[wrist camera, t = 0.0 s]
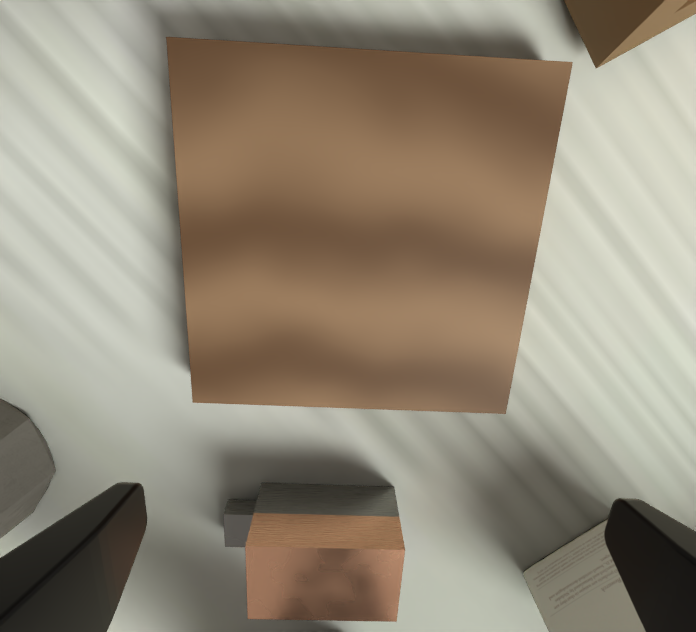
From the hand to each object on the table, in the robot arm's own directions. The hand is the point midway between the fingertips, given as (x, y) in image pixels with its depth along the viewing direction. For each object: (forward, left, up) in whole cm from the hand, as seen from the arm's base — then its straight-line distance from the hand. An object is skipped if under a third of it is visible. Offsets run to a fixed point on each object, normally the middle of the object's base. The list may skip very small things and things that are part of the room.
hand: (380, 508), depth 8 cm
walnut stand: (+3, 0, -15) cm, 15 cm away
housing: (-14, +2, -15) cm, 21 cm away
